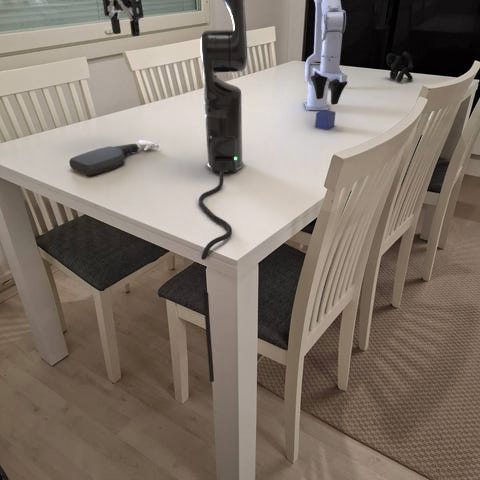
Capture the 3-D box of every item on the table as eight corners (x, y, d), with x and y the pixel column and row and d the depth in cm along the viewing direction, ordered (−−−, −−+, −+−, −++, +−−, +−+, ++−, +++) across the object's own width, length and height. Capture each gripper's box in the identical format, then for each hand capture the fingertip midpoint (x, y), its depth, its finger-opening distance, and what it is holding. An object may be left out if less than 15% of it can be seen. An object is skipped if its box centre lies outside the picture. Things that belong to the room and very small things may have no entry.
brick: (334, 126, 147) (335, 111, 144) (326, 129, 144) (328, 115, 141) (322, 123, 149) (323, 109, 147) (315, 127, 146) (316, 112, 144)
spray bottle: (67, 168, 120) (139, 144, 136) (91, 178, 114) (163, 151, 130) (65, 157, 118) (137, 134, 134) (89, 167, 112) (162, 142, 128)
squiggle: (400, 92, 202) (376, 71, 205) (417, 76, 202) (392, 56, 205) (405, 81, 191) (380, 59, 194) (423, 64, 191) (397, 42, 194)
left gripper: (145, -34, 114) (153, 35, 122) (112, -34, 122) (121, 31, 130) (121, -34, 109) (131, 38, 118) (88, -33, 117) (100, 34, 126)
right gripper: (357, 58, 131) (351, 104, 138) (326, 51, 142) (322, 94, 149) (338, 60, 128) (333, 108, 136) (308, 53, 139) (305, 97, 147)
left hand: (126, 34), depth 124 cm, fingers open, 8 cm apart
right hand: (326, 101), depth 142 cm, fingers open, 7 cm apart
